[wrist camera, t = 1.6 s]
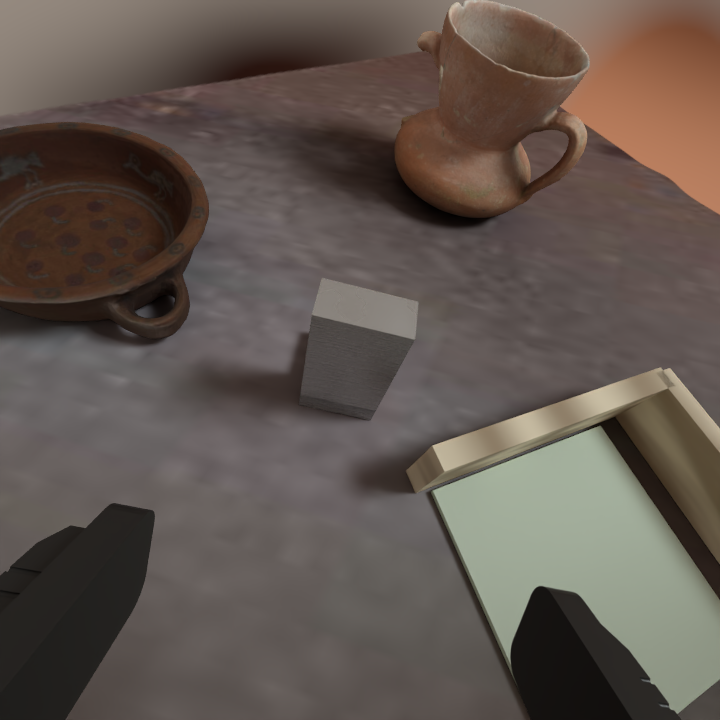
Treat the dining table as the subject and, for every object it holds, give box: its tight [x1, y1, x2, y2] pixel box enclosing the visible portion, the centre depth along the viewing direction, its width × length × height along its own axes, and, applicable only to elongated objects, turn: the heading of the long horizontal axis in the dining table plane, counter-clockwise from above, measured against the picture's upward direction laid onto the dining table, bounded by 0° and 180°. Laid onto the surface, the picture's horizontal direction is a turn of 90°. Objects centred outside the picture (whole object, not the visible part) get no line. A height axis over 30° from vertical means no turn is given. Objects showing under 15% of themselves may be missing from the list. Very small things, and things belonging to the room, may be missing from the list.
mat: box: [431, 426, 720, 714], centre depth 25 cm, size 15×15×1 cm
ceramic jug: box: [394, 0, 589, 218], centre depth 37 cm, size 18×14×14 cm
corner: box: [406, 367, 720, 564], centre depth 23 cm, size 20×17×5 cm
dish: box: [0, 122, 209, 339], centre depth 28 cm, size 18×22×5 cm
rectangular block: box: [299, 278, 418, 420], centre depth 24 cm, size 6×5×10 cm
